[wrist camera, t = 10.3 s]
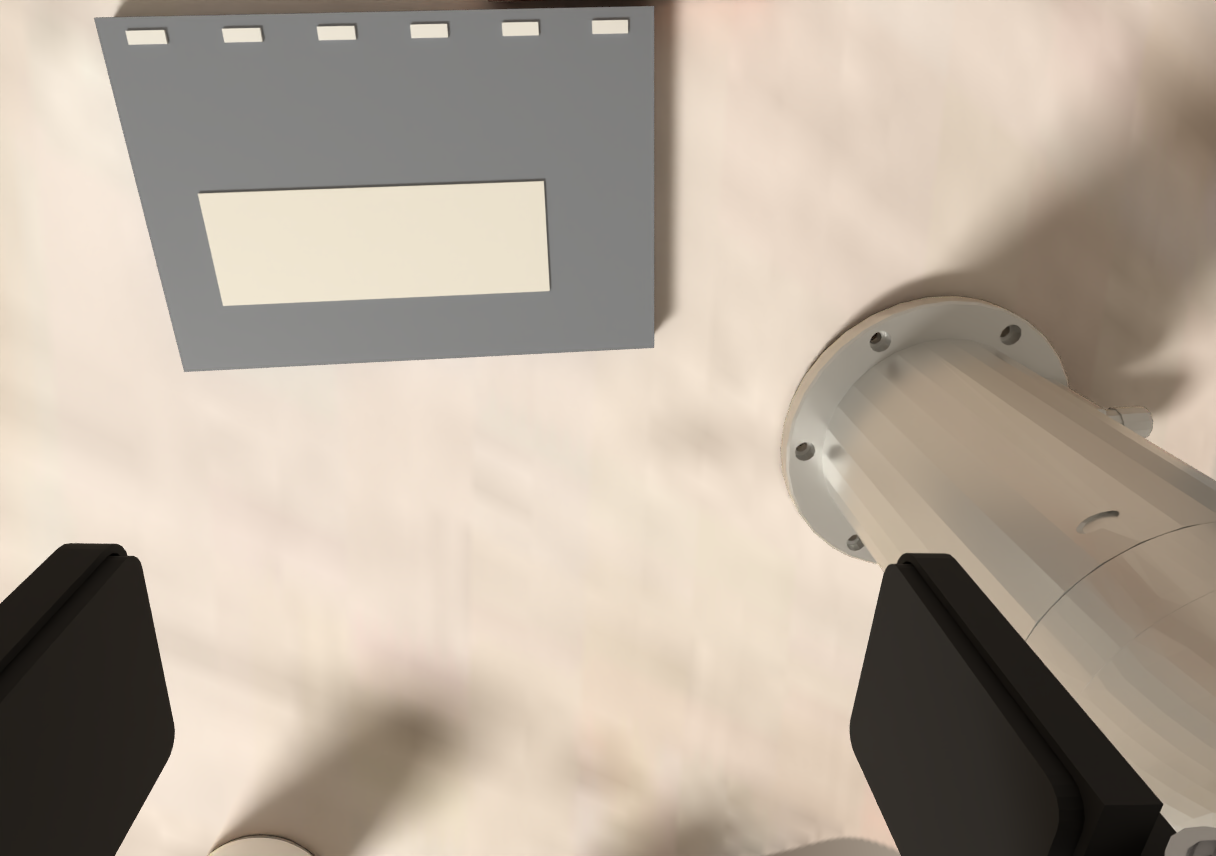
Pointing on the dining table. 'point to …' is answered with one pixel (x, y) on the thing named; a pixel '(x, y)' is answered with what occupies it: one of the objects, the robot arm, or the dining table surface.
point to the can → (261, 847)
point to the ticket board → (393, 180)
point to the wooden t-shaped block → (513, 0)
